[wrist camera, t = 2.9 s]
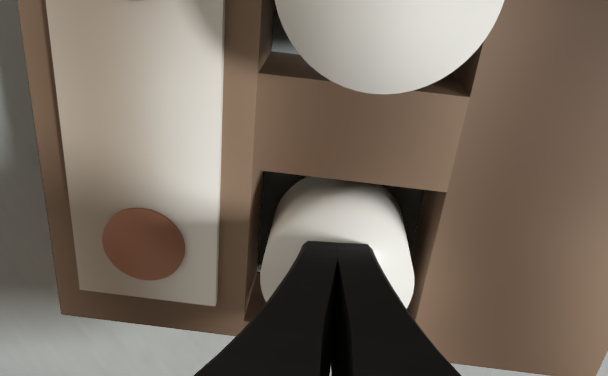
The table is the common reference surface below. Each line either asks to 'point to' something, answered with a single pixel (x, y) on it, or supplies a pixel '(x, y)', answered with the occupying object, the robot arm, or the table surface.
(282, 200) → the button
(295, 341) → the robot arm
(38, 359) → the table surface
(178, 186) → the board
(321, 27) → the button middle
